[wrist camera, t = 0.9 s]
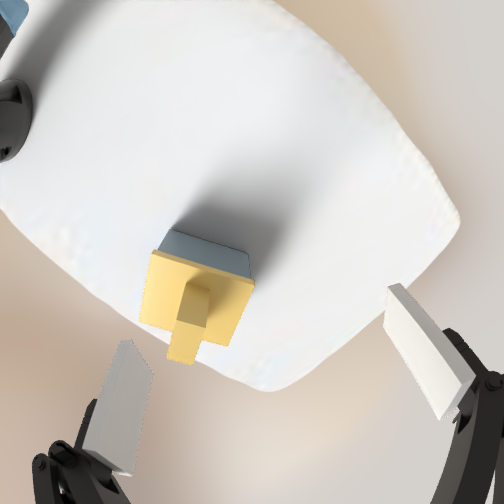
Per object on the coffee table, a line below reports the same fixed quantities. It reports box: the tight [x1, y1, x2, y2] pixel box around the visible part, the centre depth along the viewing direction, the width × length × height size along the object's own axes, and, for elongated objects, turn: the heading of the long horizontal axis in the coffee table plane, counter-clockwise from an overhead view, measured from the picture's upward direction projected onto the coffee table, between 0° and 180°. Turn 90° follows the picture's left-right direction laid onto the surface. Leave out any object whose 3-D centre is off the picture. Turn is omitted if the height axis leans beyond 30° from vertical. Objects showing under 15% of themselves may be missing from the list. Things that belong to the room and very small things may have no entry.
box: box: [158, 229, 251, 279], centre depth 38 cm, size 12×10×8 cm
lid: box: [139, 250, 255, 365], centre depth 31 cm, size 13×11×9 cm
